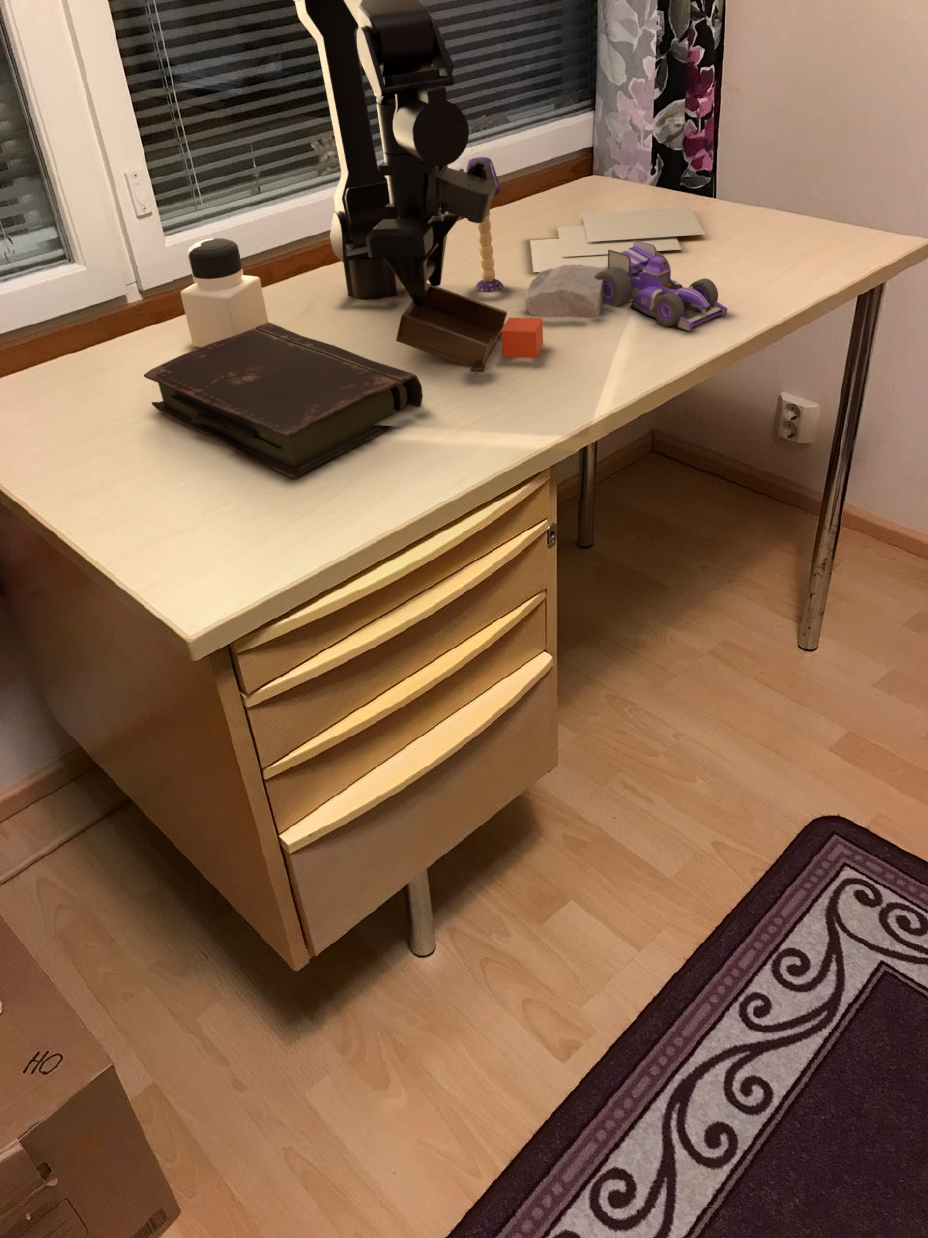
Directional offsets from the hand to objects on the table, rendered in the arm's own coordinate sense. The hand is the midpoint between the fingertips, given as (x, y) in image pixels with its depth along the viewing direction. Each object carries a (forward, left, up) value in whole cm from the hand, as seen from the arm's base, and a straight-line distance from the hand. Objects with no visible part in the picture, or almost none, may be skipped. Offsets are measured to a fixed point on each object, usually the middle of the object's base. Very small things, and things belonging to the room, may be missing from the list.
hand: (428, 295), depth 114 cm
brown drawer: (+2, 0, -5) cm, 6 cm away
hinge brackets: (+7, 0, -7) cm, 10 cm away
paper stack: (+16, +42, -7) cm, 45 cm away
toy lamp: (+2, +20, -7) cm, 21 cm away
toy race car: (+25, +16, -7) cm, 31 cm away
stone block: (+13, +16, -7) cm, 22 cm away
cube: (+11, 0, -3) cm, 11 cm away
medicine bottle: (-27, +2, -7) cm, 28 cm away
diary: (-12, -17, -7) cm, 22 cm away
